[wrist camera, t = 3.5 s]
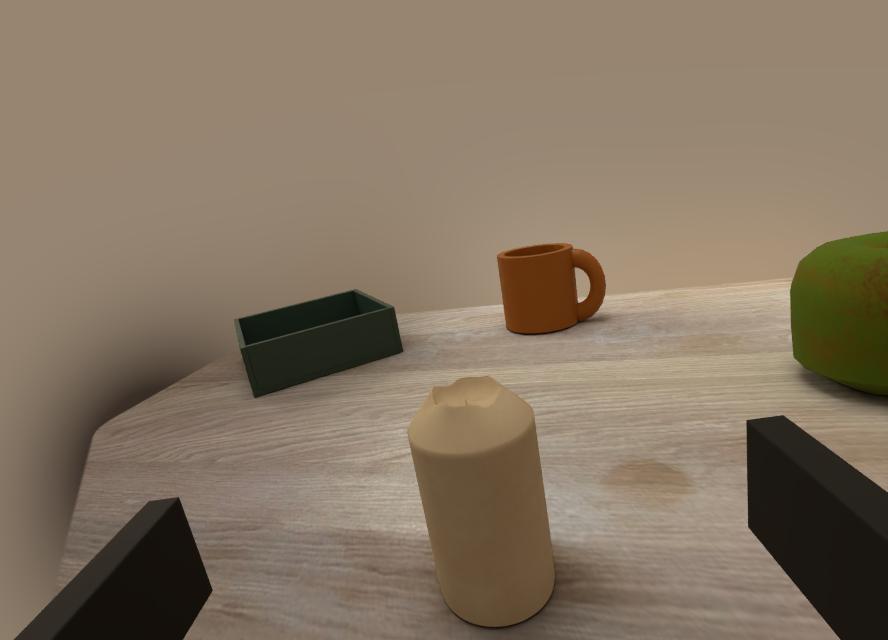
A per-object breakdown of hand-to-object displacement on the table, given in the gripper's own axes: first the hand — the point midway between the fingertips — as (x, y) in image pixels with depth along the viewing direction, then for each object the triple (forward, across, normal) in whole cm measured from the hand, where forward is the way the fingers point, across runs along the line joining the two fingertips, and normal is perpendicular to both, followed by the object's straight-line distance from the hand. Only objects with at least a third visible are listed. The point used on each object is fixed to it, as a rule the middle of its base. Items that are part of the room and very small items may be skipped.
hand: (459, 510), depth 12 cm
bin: (+50, -20, -11) cm, 55 cm away
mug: (+48, +10, -11) cm, 51 cm away
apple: (+24, +28, -12) cm, 39 cm away
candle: (+10, 0, -11) cm, 15 cm away
